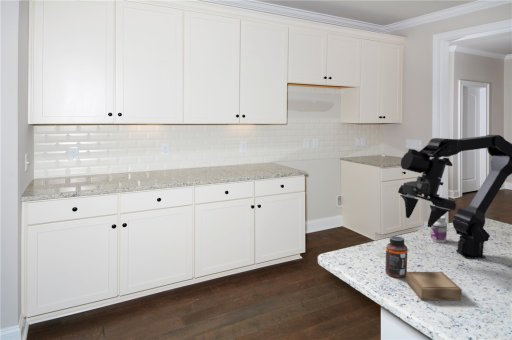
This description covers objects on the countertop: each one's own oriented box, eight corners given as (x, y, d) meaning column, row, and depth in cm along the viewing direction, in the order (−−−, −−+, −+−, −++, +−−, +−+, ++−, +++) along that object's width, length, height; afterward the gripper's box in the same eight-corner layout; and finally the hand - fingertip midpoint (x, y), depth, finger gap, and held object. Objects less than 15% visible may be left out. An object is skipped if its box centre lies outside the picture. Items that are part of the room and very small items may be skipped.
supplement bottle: (408, 279, 97) (410, 242, 96) (387, 277, 98) (388, 241, 97) (404, 270, 103) (405, 235, 101) (383, 269, 104) (384, 234, 103)
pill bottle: (427, 238, 130) (428, 214, 128) (440, 237, 130) (441, 214, 128) (435, 243, 124) (436, 218, 123) (449, 242, 124) (450, 217, 123)
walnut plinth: (441, 281, 95) (441, 271, 95) (460, 300, 85) (461, 288, 85) (405, 281, 96) (406, 271, 95) (421, 300, 86) (421, 288, 85)
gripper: (392, 166, 113) (379, 210, 115) (437, 177, 96) (421, 228, 97) (417, 172, 117) (404, 215, 118) (464, 184, 99) (448, 233, 101)
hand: (417, 222), depth 109 cm, fingers open, 9 cm apart
